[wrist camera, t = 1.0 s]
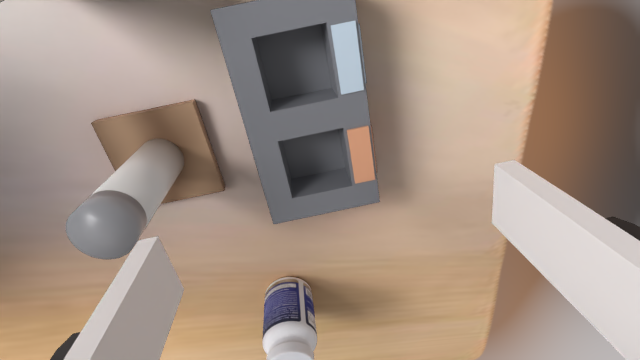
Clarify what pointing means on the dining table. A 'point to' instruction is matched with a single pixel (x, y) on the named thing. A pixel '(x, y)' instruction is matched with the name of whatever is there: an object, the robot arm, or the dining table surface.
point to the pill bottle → (289, 320)
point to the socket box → (302, 102)
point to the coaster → (175, 126)
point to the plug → (125, 201)
